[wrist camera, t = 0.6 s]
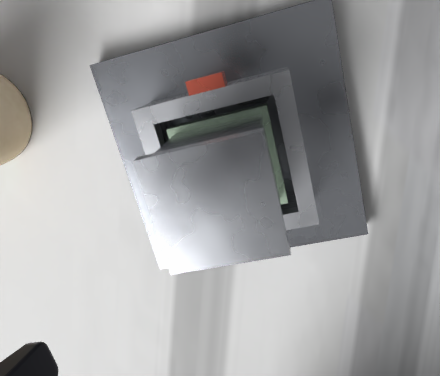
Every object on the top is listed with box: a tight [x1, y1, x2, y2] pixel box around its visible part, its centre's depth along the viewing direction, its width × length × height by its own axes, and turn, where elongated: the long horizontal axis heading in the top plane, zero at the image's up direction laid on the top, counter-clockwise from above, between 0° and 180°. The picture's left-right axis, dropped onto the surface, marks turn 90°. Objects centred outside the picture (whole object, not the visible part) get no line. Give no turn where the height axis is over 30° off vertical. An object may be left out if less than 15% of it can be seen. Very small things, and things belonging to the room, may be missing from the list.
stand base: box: [90, 0, 368, 269], centre depth 19 cm, size 12×12×4 cm
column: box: [133, 103, 291, 275], centre depth 17 cm, size 5×5×8 cm
